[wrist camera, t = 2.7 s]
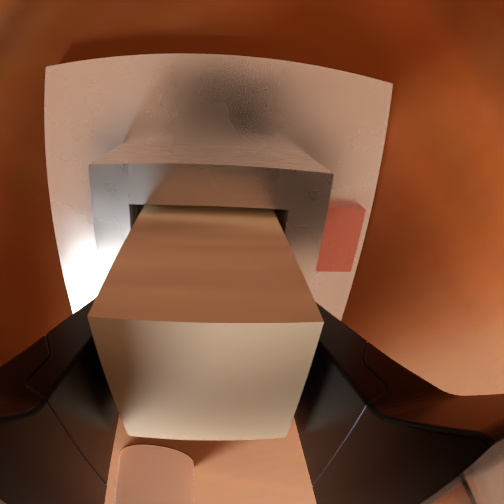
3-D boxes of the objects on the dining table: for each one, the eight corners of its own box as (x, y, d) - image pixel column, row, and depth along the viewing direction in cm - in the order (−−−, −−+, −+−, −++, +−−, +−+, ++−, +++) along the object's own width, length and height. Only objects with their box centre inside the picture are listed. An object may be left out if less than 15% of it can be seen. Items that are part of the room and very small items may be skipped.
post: (253, 275, 14) (287, 437, 7) (160, 272, 14) (126, 436, 7) (262, 184, 12) (327, 319, 5) (157, 180, 12) (84, 313, 5)
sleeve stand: (326, 337, 18) (350, 396, 14) (87, 332, 16) (64, 392, 12) (381, 83, 12) (445, 87, 8) (56, 67, 10) (-4, 65, 6)
